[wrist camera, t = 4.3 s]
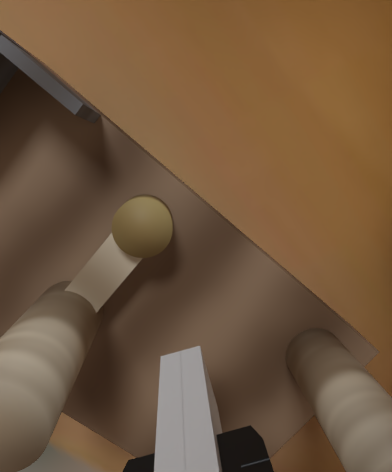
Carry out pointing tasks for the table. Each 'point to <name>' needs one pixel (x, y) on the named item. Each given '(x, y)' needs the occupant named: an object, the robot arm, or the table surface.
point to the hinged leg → (68, 331)
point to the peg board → (169, 287)
